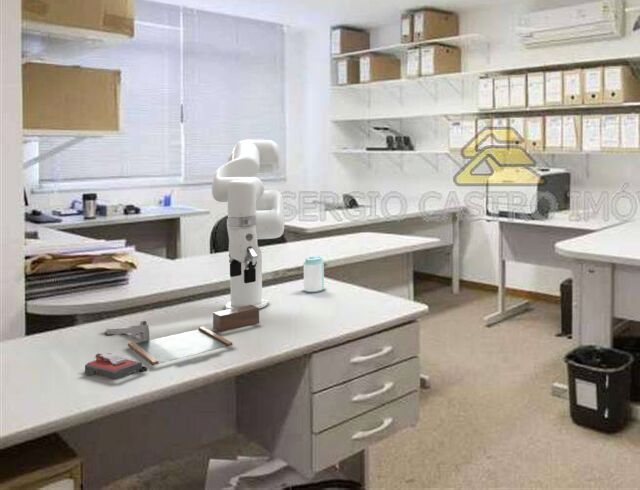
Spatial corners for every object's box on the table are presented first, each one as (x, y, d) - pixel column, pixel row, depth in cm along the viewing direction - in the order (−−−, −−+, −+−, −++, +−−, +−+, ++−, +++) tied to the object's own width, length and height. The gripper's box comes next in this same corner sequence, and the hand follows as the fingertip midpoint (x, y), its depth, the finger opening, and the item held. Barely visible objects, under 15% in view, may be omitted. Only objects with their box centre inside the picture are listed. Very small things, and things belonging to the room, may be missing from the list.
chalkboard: (128, 349, 149) (128, 342, 149) (202, 332, 162) (202, 326, 162) (153, 369, 135) (153, 362, 135) (232, 349, 149) (232, 342, 149)
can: (300, 292, 207) (299, 259, 206) (309, 287, 214) (309, 255, 213) (318, 293, 205) (318, 260, 205) (327, 288, 212) (327, 256, 212)
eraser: (213, 332, 163) (212, 312, 162) (251, 323, 171) (251, 304, 171) (220, 336, 159) (220, 316, 159) (259, 326, 167) (259, 307, 167)
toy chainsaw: (156, 371, 134) (101, 359, 142) (156, 353, 134) (101, 341, 142) (118, 386, 126) (62, 372, 134) (118, 366, 126) (62, 353, 134)
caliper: (149, 344, 153) (149, 321, 152) (145, 345, 152) (145, 322, 151) (108, 332, 162) (107, 310, 162) (104, 333, 161) (103, 311, 161)
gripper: (268, 224, 165) (268, 282, 166) (242, 216, 177) (242, 271, 178) (241, 227, 159) (242, 287, 160) (217, 219, 171) (217, 275, 172)
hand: (242, 279), depth 169 cm, fingers open, 9 cm apart
